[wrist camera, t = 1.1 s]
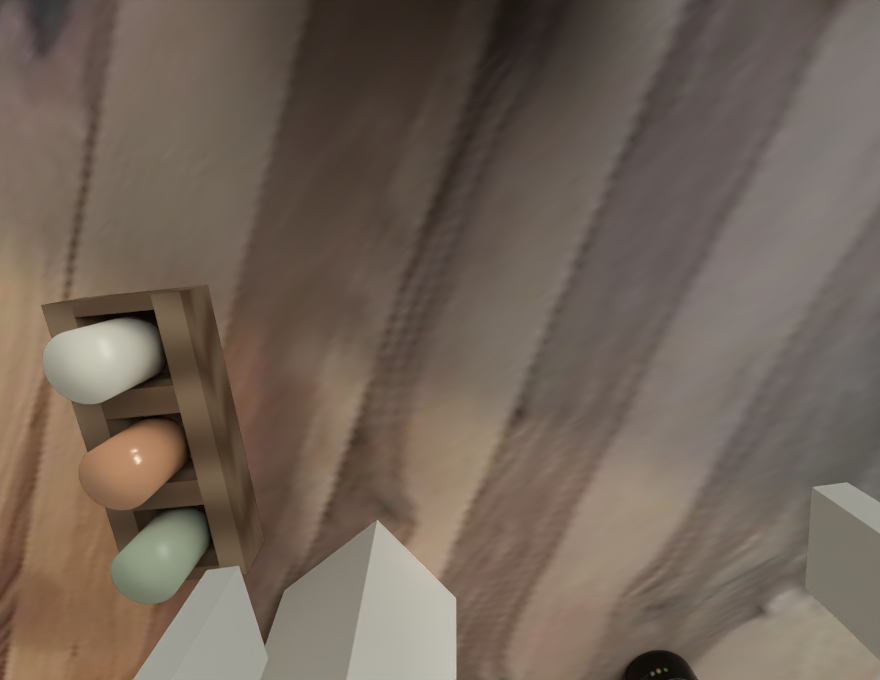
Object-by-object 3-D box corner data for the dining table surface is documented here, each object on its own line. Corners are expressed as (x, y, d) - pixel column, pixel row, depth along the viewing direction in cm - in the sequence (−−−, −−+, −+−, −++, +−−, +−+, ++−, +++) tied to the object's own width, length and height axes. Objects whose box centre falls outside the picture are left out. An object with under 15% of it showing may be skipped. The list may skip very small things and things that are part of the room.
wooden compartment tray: (84, 297, 35) (41, 305, 31) (207, 285, 35) (179, 291, 31) (158, 551, 41) (129, 584, 37) (264, 541, 41) (246, 573, 37)
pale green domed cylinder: (146, 507, 36) (102, 549, 31) (206, 501, 36) (170, 543, 31) (161, 558, 37) (120, 607, 32) (219, 553, 37) (187, 600, 32)
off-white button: (92, 319, 32) (32, 334, 28) (158, 313, 32) (109, 326, 28) (110, 382, 34) (56, 407, 29) (174, 376, 34) (130, 400, 29)
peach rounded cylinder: (121, 418, 34) (69, 449, 29) (183, 412, 34) (142, 441, 29) (137, 475, 35) (90, 513, 31) (198, 469, 35) (160, 506, 31)
